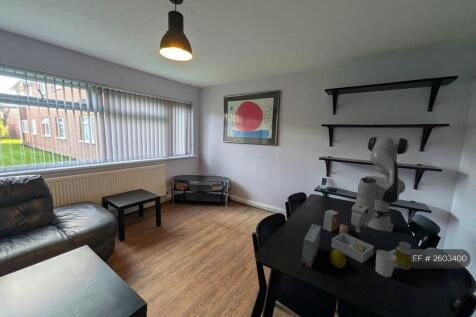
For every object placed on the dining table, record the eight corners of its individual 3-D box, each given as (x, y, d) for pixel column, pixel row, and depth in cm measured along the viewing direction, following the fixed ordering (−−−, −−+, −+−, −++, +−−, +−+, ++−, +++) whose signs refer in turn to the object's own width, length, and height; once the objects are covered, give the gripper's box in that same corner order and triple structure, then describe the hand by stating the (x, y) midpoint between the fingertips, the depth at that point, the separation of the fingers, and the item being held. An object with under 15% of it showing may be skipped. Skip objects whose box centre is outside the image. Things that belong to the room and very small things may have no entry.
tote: (331, 247, 119) (332, 238, 118) (342, 240, 126) (343, 232, 126) (362, 263, 104) (363, 254, 104) (372, 255, 112) (373, 246, 111)
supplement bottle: (405, 271, 99) (409, 248, 98) (390, 263, 105) (394, 241, 104) (412, 268, 102) (416, 246, 100) (397, 260, 108) (401, 239, 106)
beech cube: (356, 250, 116) (357, 242, 115) (365, 254, 111) (366, 246, 111) (352, 252, 113) (353, 244, 112) (361, 257, 109) (362, 249, 108)
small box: (330, 232, 137) (332, 214, 135) (322, 228, 142) (324, 211, 140) (337, 229, 141) (339, 212, 140) (329, 225, 147) (330, 209, 145)
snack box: (311, 269, 98) (314, 242, 96) (300, 265, 101) (303, 238, 99) (319, 249, 116) (321, 225, 114) (309, 245, 119) (311, 223, 117)
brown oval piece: (341, 232, 137) (342, 223, 136) (348, 236, 132) (349, 226, 132) (337, 234, 134) (338, 225, 133) (344, 238, 130) (346, 228, 129)
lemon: (344, 274, 96) (346, 259, 95) (327, 268, 100) (329, 253, 99) (345, 262, 105) (347, 248, 104) (330, 257, 109) (331, 243, 108)
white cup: (370, 267, 102) (372, 249, 100) (384, 266, 102) (386, 249, 101) (382, 278, 94) (385, 259, 93) (397, 278, 95) (400, 259, 93)
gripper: (366, 201, 117) (363, 222, 119) (350, 208, 105) (347, 231, 107) (378, 204, 111) (375, 226, 114) (362, 212, 100) (359, 237, 102)
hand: (361, 229), depth 110 cm, fingers open, 8 cm apart
